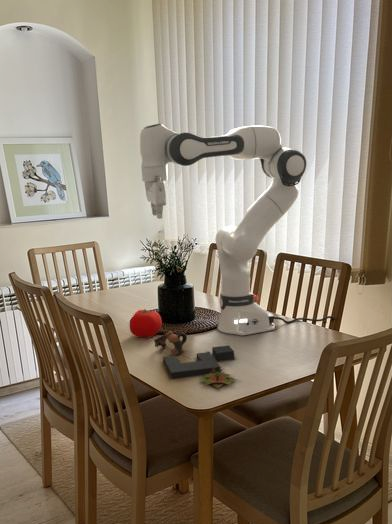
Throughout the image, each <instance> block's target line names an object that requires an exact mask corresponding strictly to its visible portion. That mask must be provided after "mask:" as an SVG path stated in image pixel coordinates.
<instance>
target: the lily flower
mask: <svg viewBox="0 0 392 524" xmlns="http://www.w3.org/2000/svg"><path fill="white" fill-rule="evenodd" d="M220 368H222V366H220ZM212 369H213V368H212ZM213 370H214V369H213ZM213 370H212V371H213ZM219 370H220V369H219ZM224 370H225V367H224V368H222V369H221V371H220V372H218V371H217V372H215V371H216V369H215V370H214V371H213V372H215V373H212V372H211V374H204V376H203V377H201V378H198V379H197V381H202V382H204V386H207V385H210V384H211V385H212V386H214V387H215V388H217V389H219V388H221V386H223V385H224V384H226V385H229V386H232V383H231V382H234V381H238V380H239V379H237V378H235V377H232V376H231V374H229V373H226V372H223V371H224Z"/></svg>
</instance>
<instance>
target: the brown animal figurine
mask: <svg viewBox="0 0 392 524" xmlns="http://www.w3.org/2000/svg"><path fill="white" fill-rule="evenodd" d="M181 337H182V340H181ZM166 340H168V342H169V343H171V344H172V345H173V346H174V347H173V348H172V349H170V352H171V353H172V356H177V355H178V354H180V353H182V352H183V351H184V350H183V346H184V345H185V343H187V340H188V336H187V334H186V333H185V332H183V331H180V332H178V333H173V331H172V330H169V331H168V332H166V333H164V334H163V335H161V336H159V337H156V338H155V339H153V342H154V347H156V348H157V349H158V348H159V347H160V346H161V348H163V349H165V347H166V346H167V343H166Z"/></svg>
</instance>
